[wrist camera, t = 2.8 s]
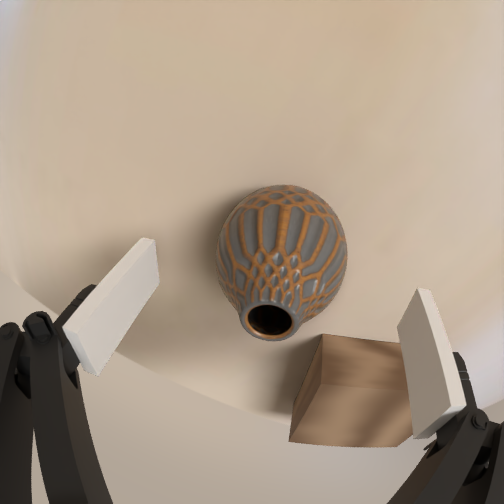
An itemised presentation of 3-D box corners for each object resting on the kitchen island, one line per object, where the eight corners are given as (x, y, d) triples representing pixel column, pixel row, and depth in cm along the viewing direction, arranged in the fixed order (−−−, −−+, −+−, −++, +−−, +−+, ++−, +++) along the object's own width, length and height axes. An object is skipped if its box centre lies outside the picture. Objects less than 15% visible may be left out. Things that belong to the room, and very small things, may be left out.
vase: (236, 262, 21) (198, 360, 14) (232, 168, 18) (173, 241, 10) (334, 271, 20) (337, 377, 13) (347, 175, 16) (374, 258, 9)
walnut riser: (293, 404, 31) (288, 441, 27) (322, 333, 24) (320, 383, 19) (394, 412, 29) (396, 446, 25) (449, 347, 22) (461, 390, 18)
